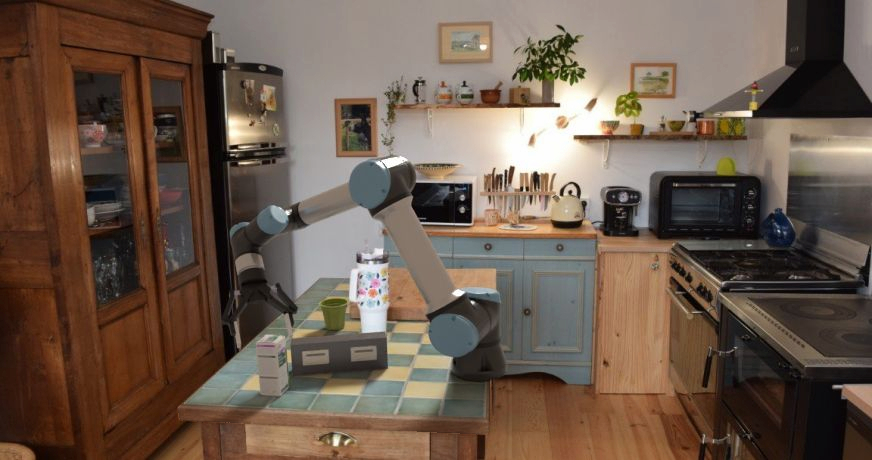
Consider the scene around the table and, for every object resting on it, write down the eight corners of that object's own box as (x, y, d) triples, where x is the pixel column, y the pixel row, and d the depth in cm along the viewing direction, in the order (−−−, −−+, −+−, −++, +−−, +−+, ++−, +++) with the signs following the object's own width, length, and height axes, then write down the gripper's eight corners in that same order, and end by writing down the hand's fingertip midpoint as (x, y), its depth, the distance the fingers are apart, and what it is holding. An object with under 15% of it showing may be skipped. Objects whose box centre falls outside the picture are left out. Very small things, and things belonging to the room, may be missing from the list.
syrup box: (281, 397, 172) (277, 342, 170) (259, 395, 174) (255, 341, 171) (290, 387, 178) (286, 334, 175) (268, 386, 179) (265, 333, 176)
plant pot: (335, 334, 216) (333, 308, 215) (314, 328, 222) (313, 303, 220) (355, 326, 224) (354, 301, 222) (335, 321, 229) (333, 296, 227)
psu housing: (386, 361, 194) (385, 331, 192) (388, 369, 188) (387, 338, 187) (293, 369, 190) (291, 338, 188) (292, 377, 184) (290, 345, 183)
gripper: (294, 274, 198) (310, 339, 188) (204, 286, 188) (216, 355, 178) (297, 260, 193) (313, 327, 182) (205, 271, 182) (217, 343, 172)
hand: (265, 341), depth 180 cm, fingers open, 13 cm apart
